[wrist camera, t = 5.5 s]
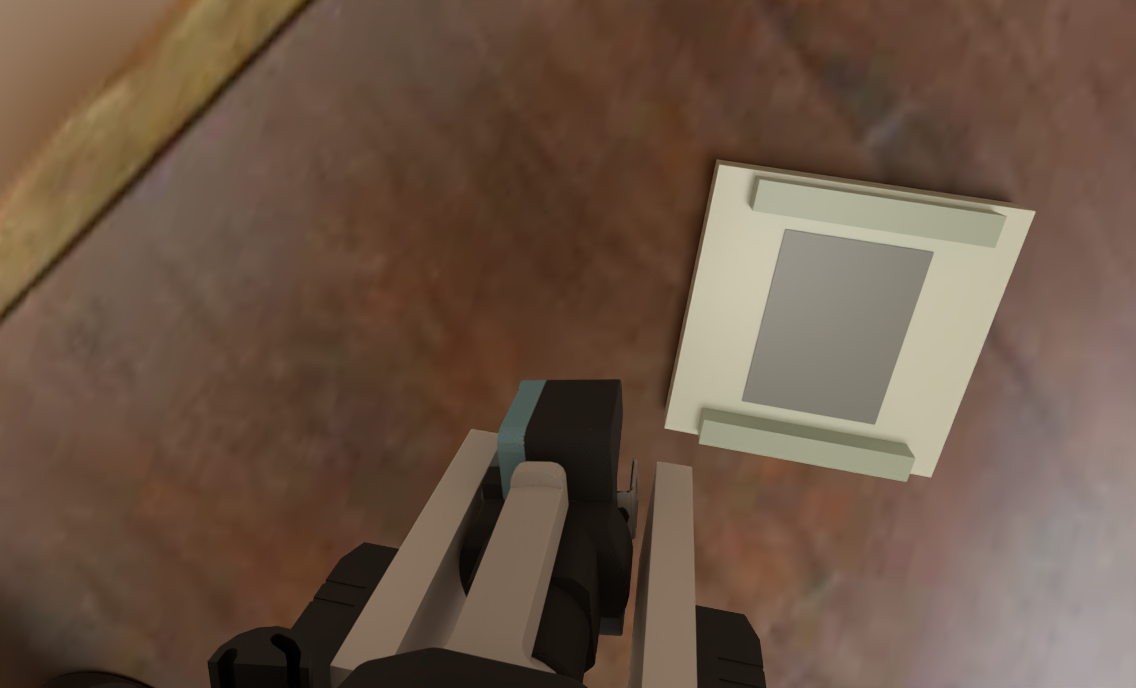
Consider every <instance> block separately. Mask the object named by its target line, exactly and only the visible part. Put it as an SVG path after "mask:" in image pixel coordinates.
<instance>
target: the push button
mask: <svg viewBox="0 0 1136 688" xmlns="http://www.w3.org/2000/svg"><path fill="white" fill-rule="evenodd" d="M622 417H623V405H622V386H621V381H620V380H619V379H611V380H523V381H521V383H520V385H519V387H518V392H517V394H516V396H515V398H514V400H513V402H512V404H511V406H510V408H509V410H508V412H507V414H506V416H505V418H504V420H503V422H502V424H501V426H500V429H499V432H498V441H497V447H498V458H499V464H498V466H490V467H489V468H488V469H487V471H486V473H485V475H484V477H483V479H482V482H481V491H482V498H483V503H482V505H481V507H480V508H479V510H478V512H477V515H476V517H475V519H474V521H473V524H472V526H471V528H470V530H469V532H468V535H467V537H466V539H465V541H464V543H463V546H462V550H461V553H460V559H459V575H460V580H461V585H462V588H463V590H464V593H465V595H466V601H465V603H464V606H463V608H462V611H461V613H460V616H459V618H458V621H457V623H456V626H455V628H454V631H453V633H452V636H451V638H450V639H449V641H448V643H447V644H446V646H445V647H443V648H436V647H431V648H425V649H421V650H416V651H411V652H406V653H402V654H397V655H392V656H388V657H383V658H378V659H373V660H369V661H366V662H364V663H362V664H360V665H358V666H357V667H356V668H355V669H354V670H353V671H352V672H351V674H350V675H349V676H348V677H347V678H346V679H345V680H344V681H343V682H342V683H341V684H340V685H339V686H338V687H337V688H587V687H586V686H585V685H583V684H582V683H583V677H584V673H585V672H586V671H588V670H589V669H590V668H592V667H593V666H594V664H595V658H596V651H597V644H598V637H599V634H600V635H616V636H621V635H622V633H623V624H624V614H625V608H626V606H627V602H628V598H629V591H630V580H631V569H632V556H633V545H632V539H634V538H635V536H636V532H635V529H636V524H637V512H638V497H639V489H638V465H637V458H633V464H632V473H631V483H630V489H631V490H629V491H626V492H623V491H617V470H618V459H619V449H620V439H621V429H622Z"/></svg>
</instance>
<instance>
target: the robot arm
mask: <svg viewBox="0 0 1136 688" xmlns="http://www.w3.org/2000/svg"><path fill="white" fill-rule="evenodd" d="M497 441H498V433H493V432H487V431H481V430H475V429H471V430H470V432H469V433H468V435H467V437H466V438H465V440H464V442H463V443H462V445H461V447H460V449H459V450H458V452H457V454H456V455H455V457H454V459H453V460H452V462H451V464H450V465H449V467H448V469H447V470H446V472H445V474H444V475H443V477H442V479H441V480H440V482H439V484H438V485H437V487H436V489H435V490H434V492H433V494H432V495H431V497H430V499H429V500H428V502H427V504H426V505H425V507H424V509H423V510H422V512H421V514H420V515H419V517H418V519H417V520H416V522H415V524H414V525H413V527H412V529H411V531H410V532H409V534H408V536H407V537H406V539H405V541H404V542H403V544H402V546H401V547H400V549H396V548H391V547H386V546H381V545H376V544H371V543H365V542H364V543H363V544H361V545H360V546H358V547H357V548H355V549H354V550H353V551H351V552H350V553H348V554H347V555H345V556H344V557H342V558H341V559H340V561H339V562H338V563H337V565H336V566H335V568H334V569H333V570H332V572H331V573H330V575H329V576H328V578H327V579H326V583H325V584H323V585H322V586H321V587H320V589H319V590H318V592H317V593H316V595H315V596H314V599H313V601H311V602H310V603H309V604H308V606H307V607H306V609H305V610H304V612H303V613H302V614H301V616H300V617H299V619H298V620H297V621H296V623H295V624H294V626H293V627H292V628H291V629H287V628H283V627H279V626H274V627H261V628H256V629H253V630H250V631H247V632H244V633H241V634H239V635H237V636H235V637H234V638H232V639H231V640H229V641H228V642H226V643H225V644H223V645H222V646H220V647H219V648H218V650H217V651H216V652H215V653H214V654H213V656H212V657H211V658H210V659H209V660H208V661H207V662H208V669H209V676H210V683H211V688H337V687H338V686H339V685H340V684H341V683H342V682H343V681H344V680H345V679H346V678H347V677H348V676H349V675H350V674H351V672H352V671H353V670H354V669H355V668H356V667H357V666H358V665H360V664H362V663H364V662H366V661H369V660H373V659H378V658H383V657H388V656H392V655H397V654H402V653H406V652H411V651H416V650H421V649H425V648H431V647H436V648H443V647H445V646H446V644H447V643H448V641H449V639H450V638H451V636H452V633H453V631H454V628H455V626H456V623H457V621H458V618H459V616H460V613H461V611H462V608H463V606H464V603H465V601H466V595H465V593H464V590H463V588H462V585H461V580H460V575H459V559H460V553H461V550H462V546H463V543H464V541H465V539H466V537H467V535H468V532H469V530H470V528H471V526H472V524H473V521H474V519H475V517H476V515H477V512H478V510H479V508H480V507H481V505H482V503H483V498H482V491H481V482H482V479H483V477H484V475H485V473H486V471H487V469H488V468H489V467H490V466H498V464H499V458H498V447H497ZM43 688H147V687H144V686H142V685H140V684H137V683H135V682H132V681H129V680H126V679H123V678H120V677H116V676H111V675H106V674H100V673H74V674H69V675H64V676H61V677H58V678H56V679H54V680H52V681H50V682H49V683H47V684H46V685H45V686H44V687H43ZM628 688H766V682H765V675H764V671H763V660H762V653H761V646H760V639H759V638H758V636H757V634H756V633H755V631H754V629H753V628H752V626H751V624H750V623H749V621H748V619H747V618H746V616H745V615H744V614H739V613H733V612H728V611H723V610H718V609H713V608H708V607H703V606H698V605H695V572H694V529H693V486H692V467H689V466H683V465H677V464H671V463H666V462H660V461H657V464H656V470H655V475H654V481H653V486H652V492H651V497H650V503H649V508H648V514H647V520H646V525H645V531H644V536H643V542H642V547H641V553H640V558H639V567H638V578H637V589H636V600H635V611H634V622H633V633H632V644H631V655H630V666H629V678H628Z"/></svg>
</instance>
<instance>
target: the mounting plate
mask: <svg viewBox="0 0 1136 688" xmlns="http://www.w3.org/2000/svg"><path fill="white" fill-rule="evenodd" d="M1035 212H1036V211H1033V210H1030V209H1028V208H1025V207H1022V206H1019V205H1017V204H1014V203H1011V202H1004V201H997V200H990V199H983V198H977V197H970V196H963V195H956V194H949V193H943V192H936V191H929V190H922V189H915V188H909V187H902V186H895V185H888V184H882V183H875V182H868V181H861V180H854V179H848V178H841V177H834V176H827V175H820V174H814V173H807V172H800V171H793V170H786V169H780V168H773V167H766V166H759V165H752V164H746V163H739V162H732V161H725V160H718V159H716V164H715V168H714V173H713V178H712V183H711V188H710V193H709V198H708V203H707V207H706V212H705V217H704V222H703V227H702V232H701V237H700V241H699V246H698V251H697V256H696V261H695V266H694V271H693V276H692V280H691V285H690V290H689V295H688V300H687V305H686V310H685V314H684V319H683V324H682V329H681V334H680V339H679V344H678V348H677V353H676V358H675V363H674V368H673V373H672V378H671V383H670V387H669V392H668V397H667V402H666V407H665V429H671V430H676V431H682V432H687V433H692V434H698V442H699V444H704V445H709V446H715V447H720V448H726V449H731V450H736V451H742V452H747V453H753V454H758V455H763V456H769V457H774V458H780V459H785V460H791V461H796V462H801V463H807V464H812V465H818V466H823V467H828V468H834V469H839V470H845V471H850V472H855V473H861V474H866V475H872V476H877V477H883V478H888V479H893V480H899V481H904V482H907V480H908V477H909V474H916V475H921V476H927V477H931V476H932V474H933V471H934V469H935V466H936V464H937V461H938V458H939V456H940V453H941V451H942V448H943V446H944V443H945V441H946V438H947V436H948V433H949V430H950V428H951V425H952V423H953V420H954V418H955V415H956V413H957V410H958V408H959V405H960V402H961V400H962V397H963V395H964V392H965V390H966V387H967V385H968V382H969V380H970V377H971V374H972V372H973V369H974V367H975V364H976V362H977V359H978V357H979V354H980V352H981V349H982V347H983V344H984V341H985V339H986V336H987V334H988V331H989V329H990V326H991V324H992V321H993V319H994V316H995V313H996V311H997V308H998V306H999V303H1000V301H1001V298H1002V296H1003V293H1004V291H1005V288H1006V285H1007V283H1008V280H1009V278H1010V275H1011V273H1012V270H1013V268H1014V265H1015V263H1016V260H1017V257H1018V255H1019V252H1020V250H1021V247H1022V245H1023V242H1024V240H1025V237H1026V235H1027V232H1028V229H1029V227H1030V224H1031V222H1032V219H1033V217H1034V214H1035Z"/></svg>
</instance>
